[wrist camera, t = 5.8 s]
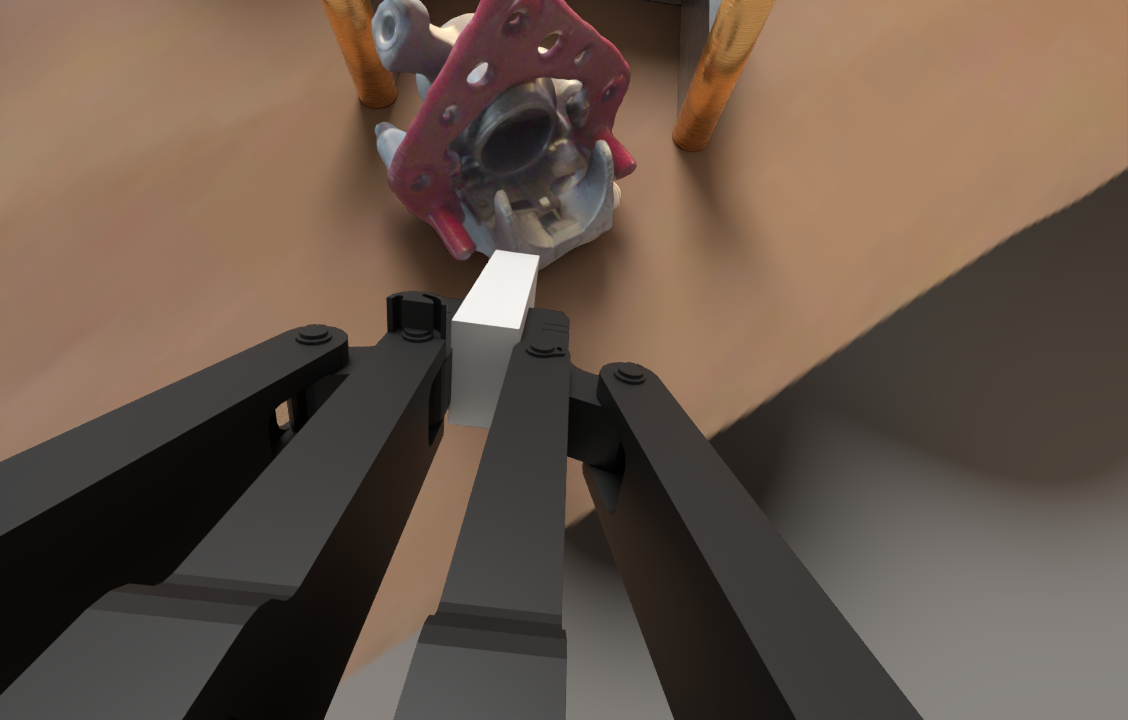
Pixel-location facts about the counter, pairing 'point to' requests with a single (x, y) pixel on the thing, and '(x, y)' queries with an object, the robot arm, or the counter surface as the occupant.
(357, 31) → the bracket
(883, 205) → the counter surface
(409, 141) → the brake caliper
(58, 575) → the robot arm
